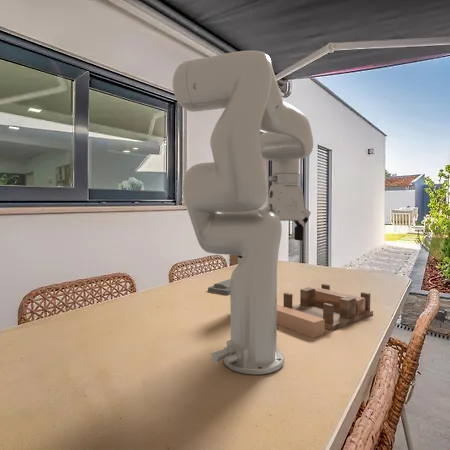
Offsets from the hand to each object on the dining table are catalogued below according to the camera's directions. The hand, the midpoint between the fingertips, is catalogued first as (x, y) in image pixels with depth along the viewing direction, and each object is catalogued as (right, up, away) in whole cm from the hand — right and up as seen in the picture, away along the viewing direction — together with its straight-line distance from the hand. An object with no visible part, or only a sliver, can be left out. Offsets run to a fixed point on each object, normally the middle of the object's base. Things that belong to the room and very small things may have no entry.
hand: (284, 240), depth 99 cm
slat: (+1, -23, -7) cm, 24 cm away
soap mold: (-14, -21, +37) cm, 45 cm away
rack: (+13, -22, +3) cm, 26 cm away
